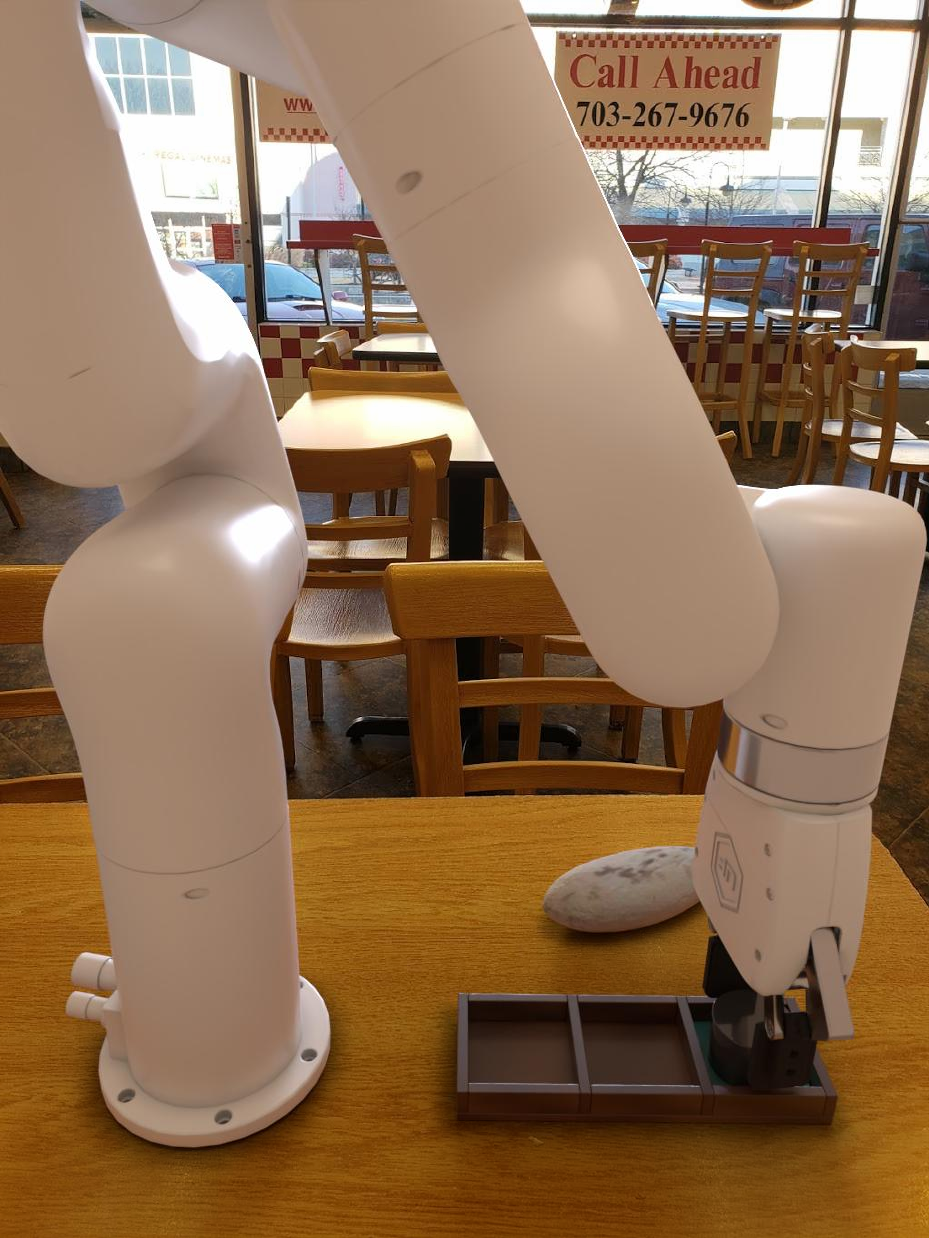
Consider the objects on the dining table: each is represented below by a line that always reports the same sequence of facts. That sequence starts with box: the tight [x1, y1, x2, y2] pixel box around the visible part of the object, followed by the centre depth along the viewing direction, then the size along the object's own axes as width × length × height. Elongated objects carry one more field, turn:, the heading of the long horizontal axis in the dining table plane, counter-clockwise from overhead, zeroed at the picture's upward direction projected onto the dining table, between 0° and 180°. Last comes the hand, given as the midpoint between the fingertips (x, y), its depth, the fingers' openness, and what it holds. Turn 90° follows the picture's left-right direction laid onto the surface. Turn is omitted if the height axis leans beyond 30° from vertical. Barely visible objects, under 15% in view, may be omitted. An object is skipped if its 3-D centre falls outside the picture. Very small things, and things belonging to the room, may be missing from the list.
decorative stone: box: [541, 845, 701, 933], centre depth 65 cm, size 6×16×3 cm, turn 117°
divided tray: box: [455, 992, 839, 1125], centre depth 52 cm, size 20×7×2 cm, turn 90°
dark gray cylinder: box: [706, 990, 789, 1086], centre depth 52 cm, size 4×4×3 cm
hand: (752, 1033), depth 52 cm, fingers open, 5 cm apart
